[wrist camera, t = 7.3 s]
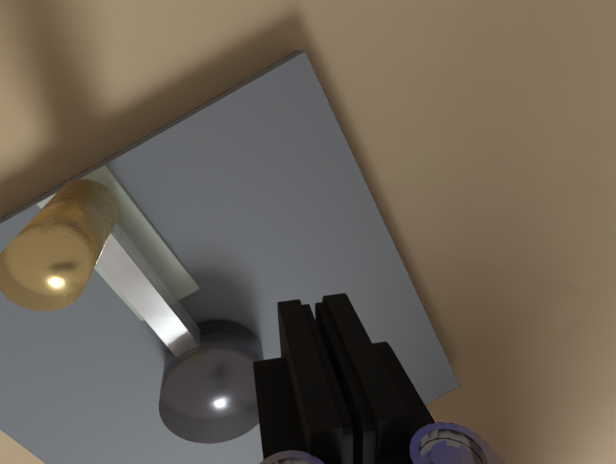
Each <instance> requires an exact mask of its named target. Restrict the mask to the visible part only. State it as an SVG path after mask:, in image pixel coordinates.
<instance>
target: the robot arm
mask: <svg viewBox="0 0 616 464" xmlns="http://www.w3.org/2000/svg"><path fill="white" fill-rule="evenodd" d="M277 310H278V324H279V337H280V350H281V357H280V358H273V359H266V360H260V361H253V371H254V380H255V390H256V399H257V408H258V417H259V426H260V435H261V444H262V452H263V461H262V462H261V463H260V464H505V463H504V462H503V461H502V459H501V458H500V457H499V456H498V455H497V454H496V453H495V452H494V450H493V449H492V448H491V447H490V446H489V445H488V444H487V443H486V442H485V441H484V440H483V439H482V438H481V437H480V436H479V435H478V434H476V433H474V432H473V431H471V430H469V429H467V428H466V427H463V426H460V425H456V424H453V423H443V422H439V423H435V421H434V420H433V418H432V416H431V415H430V413H429V411H428V409H427V408H426V406H425V404H424V403H423V401H422V399H421V397H420V396H419V394H418V392H417V390H416V389H415V387H414V385H413V384H412V382H411V380H410V378H409V377H408V375H407V373H406V372H405V370H404V368H403V366H402V365H401V363H400V361H399V360H398V358H397V356H396V354H395V353H394V351H393V349H392V348H391V346H390V345H389V343H388V342H386V341H384V342H378V343H372V342H371V340H370V338H369V336H368V334H367V332H366V330H365V328H364V326H363V325H362V323H361V321H360V319H359V317H358V315H357V313H356V311H355V309H354V307H353V306H352V304H351V302H350V300H349V298H348V296H347V295H346V293H341V294H334V295H326V296H323V298H322V302H319V303H315V318H314V315H313V312H312V310H311V307H310V304H304V305H302V303H301V301H300V299H296V300H289V301H281V302H277Z"/></svg>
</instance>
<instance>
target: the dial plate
mask: <svg viewBox="0 0 616 464" xmlns="http://www.w3.org/2000/svg"><path fill="white" fill-rule="evenodd" d="M80 179H86V180H93V181H96V182H99V183H101V184H103V185H105V186H106V187H107V188H109V189H110V190H111V191H112V192H113V194H114V195H115V197H116V198H117V200H118V203H119V210H120V212H119V217H118V220H117V223H118V224H119V225H120V226H121V228H122V229H123V230H124V232H125V233H126V234H127V236H128V237H129V238H130V239H131V241H132V242H133V243H134V245H135V246H136V247H137V248H138V250H139V251H140V252H141V254H142V255H143V256H144V258H145V259H146V260H147V261H148V263H149V264H150V265H151V267H152V268H153V269H154V270H155V272H156V273H157V274H158V276H159V277H160V278H161V280H162V281H163V282H164V283H165V285H166V286H167V287H168V289H169V290H170V291H171V292H172V294H173V295H174V296H175V298H176V299H177V300H178V302H179V303H180V304H181V305H182V307H183V308H184V309H185V311H186V312H187V313H188V314H189V316H190V317H191V318H192V320H193V321H194V322H195V324H197V323H200V322H204V321H210V320H226V321H231V322H235V323H238V324H241V325H243V326H245V327H246V328H248V329H249V330H251V331H252V332H253V333H254V334H255V335H256V336H257V338H258V339H259V341H260V343H261V346H262V349H263V355H264V360H266V359H273V358H280V357H281V350H280V337H279V324H278V310H277V302H281V301H289V300H296V299H300V301H301V303H302V305H304V304H310V307H311V310H312V312H313V315H314V318H315V303H319V302H322V298H323V296H326V295H334V294H341V293H346V295H347V296H348V298H349V300H350V302H351V304H352V306H353V307H354V309H355V311H356V313H357V315H358V317H359V319H360V321H361V323H362V325H363V326H364V328H365V330H366V332H367V334H368V336H369V338H370V340H371V342H372V343H378V342H384V341H386V342H388V343H389V345H390V346H391V348H392V349H393V351H394V353H395V354H396V356H397V358H398V360H399V361H400V363H401V365H402V366H403V368H404V370H405V372H406V373H407V375H408V377H409V378H410V380H411V382H412V384H413V385H414V387H415V389H416V390H417V392H418V394H419V396H420V397H421V399H422V401H423V403H424V404H425V405H426V404H428V403H430V402H432V401H434V400H435V399H437V398H439V397H441V396H443V395H445V394H447V393H448V392H450V391H452V390H454V389H456V388H458V387H460V385H459V383H458V380H457V378H456V376H455V374H454V372H453V370H452V367H451V365H450V363H449V361H448V359H447V357H446V354H445V352H444V350H443V348H442V346H441V344H440V342H439V339H438V337H437V335H436V333H435V331H434V329H433V326H432V324H431V322H430V320H429V318H428V316H427V313H426V311H425V309H424V307H423V305H422V303H421V301H420V298H419V296H418V294H417V292H416V290H415V288H414V285H413V283H412V281H411V279H410V277H409V275H408V272H407V270H406V268H405V266H404V264H403V262H402V260H401V257H400V255H399V253H398V251H397V249H396V247H395V244H394V242H393V240H392V238H391V236H390V234H389V231H388V229H387V227H386V225H385V223H384V221H383V218H382V216H381V214H380V212H379V210H378V208H377V206H376V203H375V201H374V199H373V197H372V195H371V193H370V190H369V188H368V186H367V184H366V182H365V180H364V177H363V175H362V173H361V171H360V169H359V167H358V165H357V162H356V160H355V158H354V156H353V154H352V152H351V149H350V147H349V145H348V143H347V141H346V139H345V136H344V134H343V132H342V130H341V128H340V126H339V124H338V121H337V119H336V117H335V115H334V113H333V111H332V108H331V106H330V104H329V102H328V100H327V98H326V95H325V93H324V91H323V89H322V87H321V85H320V83H319V80H318V78H317V76H316V74H315V72H314V70H313V67H312V65H311V63H310V61H309V59H308V57H307V54H306V52H305V51H300V50H298V51H296V52H294V53H293V54H291V55H289V56H287V57H286V58H284V59H282V60H280V61H278V62H277V63H275V64H273V65H271V66H270V67H268V68H266V69H264V70H263V71H261V72H259V73H257V74H255V75H254V76H252V77H250V78H248V79H247V80H245V81H243V82H241V83H240V84H238V85H236V86H234V87H232V88H231V89H229V90H227V91H225V92H224V93H222V94H220V95H218V96H217V97H215V98H213V99H211V100H209V101H208V102H206V103H204V104H202V105H201V106H199V107H197V108H195V109H194V110H192V111H190V112H188V113H186V114H185V115H183V116H181V117H179V118H178V119H176V120H174V121H172V122H171V123H169V124H167V125H165V126H163V127H162V128H160V129H158V130H156V131H155V132H153V133H151V134H149V135H148V136H146V137H144V138H142V139H140V140H139V141H137V142H135V143H133V144H132V145H130V146H128V147H126V148H125V149H123V150H121V151H119V152H117V153H116V154H114V155H112V156H110V157H109V158H107V159H105V160H103V161H102V162H100V163H98V164H96V165H94V166H93V167H91V168H89V169H87V170H86V171H84V172H82V173H80V174H79V175H77V176H75V177H73V178H71V179H70V180H68V181H66V182H64V183H63V184H61V185H59V186H57V187H56V188H54V189H52V190H50V191H48V192H47V193H45V194H43V195H41V196H40V197H38V198H36V199H34V200H33V201H31V202H29V203H27V204H25V205H24V206H22V207H20V208H18V209H17V210H15V211H13V212H11V213H10V214H8V215H6V216H4V217H2V218H1V219H0V253H1V252H2V251H3V250H4V249H5V248H6V246H7V245H8V244H9V243H10V242H11V241H12V240H13V239H14V238H15V237H16V236H17V235H18V234H19V233H20V232H21V231H22V229H23V228H24V227H25V226H26V225H27V224H28V223H29V222H30V221H31V220H32V219H33V218H34V217H35V216H36V215H37V213H38V212H39V211H40V210H41V209H42V208H43V207H44V206H45V205H46V204H47V203H48V202H49V201H50V200H51V199H52V197H53V196H54V195H55V194H56V193H57V192H58V191H59V190H60V189H61V188H62V187H63V186H64V185H66V184H67V183H69V182H71V181H75V180H80ZM167 349H168V347H167V346H166V344H165V343H164V342H163V341H162V340H161V338H160V337H159V336H158V335H157V334H156V333H155V331H154V330H153V329H152V328H151V327H150V325H149V324H148V323H147V322H146V321H145V319H144V318H143V317H142V316H141V315H140V314H139V312H138V311H137V310H136V309H135V308H134V306H133V305H132V304H131V303H130V302H129V300H128V299H127V298H126V297H125V296H124V295H123V293H122V292H121V291H120V290H119V289H118V287H117V286H116V285H115V284H114V283H113V281H112V280H111V279H110V278H109V277H108V276H107V274H106V273H105V272H104V271H103V270H102V268H101V267H100V266H99V265H98V264H97V263H96V265H95V267H94V269H93V271H92V274H91V276H90V278H89V280H88V282H87V284H86V286H85V288H84V290H83V292H82V294H81V295H80V297H79V298H78V299H77V300H76V301H75V302H73V303H72V304H70V305H69V306H67V307H65V308H62V309H59V310H54V311H35V310H30V309H27V308H24V307H21V306H19V305H17V304H15V303H13V302H12V301H11V300H9V299H8V298H7V297H6V296H5V295H4V294H3V293H2V292H1V291H0V429H1V430H2V431H3V432H5V433H6V434H7V435H8V436H10V437H11V438H12V439H14V440H15V441H16V442H18V443H19V444H20V445H22V446H23V447H24V448H26V449H27V450H28V451H30V452H31V453H32V454H34V455H35V456H36V457H37V458H39V459H40V460H41V461H43V462H44V463H45V464H260V463H261V462H262V461H263V452H262V444H261V435H260V426H259V424H258V425H256V426H255V427H254V428H253V429H252V430H250V431H249V432H247V433H246V434H244V435H242V436H240V437H238V438H235V439H233V440H230V441H226V442H221V443H212V444H203V443H195V442H191V441H187V440H185V439H182V438H180V437H178V436H176V435H175V434H173V433H172V432H171V431H170V430H169V429H168V428H167V427H166V426H165V425H164V423H163V421H162V420H161V417H160V414H159V398H160V390H161V383H162V375H163V368H164V360H165V355H166V351H167Z"/></svg>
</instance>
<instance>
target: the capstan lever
mask: <svg viewBox="0 0 616 464" xmlns="http://www.w3.org/2000/svg"><path fill="white" fill-rule="evenodd" d="M119 212H120V210H119V203H118V200H117V198H116V197H115V195H114V194H113V192H112V191H111V190H110V189H109V188H107V187H106V186H105V185H103V184H101V183H99V182H96V181H93V180H86V179H80V180H75V181H71V182H69V183H67V184H66V185H64V186H63V187H62V188H61V189H60V190H59V191H58V192H57V193H56V194H55V195H54V196H53V197H52V199H51V200H50V201H49V202H48V203H47V204H46V205H45V206H44V207H43V208H42V209H41V210H40V211H39V212H38V213H37V215H36V216H35V217H34V218H33V219H32V220H31V221H30V222H29V223H28V224H27V225H26V226H25V227H24V228H23V229H22V231H21V232H20V233H19V234H18V235H17V236H16V237H15V238H14V239H13V240H12V241H11V242H10V243H9V244H8V245H7V246H6V248H5V249H4V250H3V251H2V252H1V253H0V291H1V292H2V293H3V294H4V295H5V296H6V297H7V298H8V299H9V300H11V301H12V302H13V303H15V304H17V305H19V306H21V307H24V308H27V309H30V310H35V311H54V310H59V309H62V308H65V307H67V306H69V305H70V304H72V303H73V302H75V301H76V300H77V299H78V298H79V297H80V295H81V294H82V292H83V290H84V288H85V286H86V284H87V282H88V280H89V278H90V276H91V274H92V271H93V269H94V267H95V265H96V263H97V264H98V265H99V266H100V267H101V268H102V270H103V271H104V272H105V273H106V274H107V276H108V277H109V278H110V279H111V280H112V281H113V283H114V284H115V285H116V286H117V287H118V289H119V290H120V291H121V292H122V293H123V295H124V296H125V297H126V298H127V299H128V300H129V302H130V303H131V304H132V305H133V306H134V308H135V309H136V310H137V311H138V312H139V314H140V315H141V316H142V317H143V318H144V319H145V321H146V322H147V323H148V324H149V325H150V327H151V328H152V329H153V330H154V331H155V333H156V334H157V335H158V336H159V337H160V338H161V340H162V341H163V342H164V343H165V344H166V346H167V347H168V349H167V351H166V355H165V360H164V368H163V375H162V383H161V390H160V398H159V414H160V417H161V420H162V421H163V423H164V425H165V426H166V427H167V428H168V429H169V430H170V431H171V432H172V433H173V434H175V435H176V436H178V437H180V438H182V439H185V440H187V441H191V442H195V443H203V444H212V443H221V442H226V441H230V440H233V439H235V438H238V437H240V436H242V435H244V434H246V433H247V432H249V431H250V430H252V429H253V428H254V427H255V426H256V425H258V424H259V417H258V408H257V399H256V390H255V380H254V371H253V361H260V360H264V355H263V349H262V346H261V343H260V341H259V339H258V338H257V336H256V335H255V334H254V333H253V332H252V331H251V330H249V329H248V328H246V327H245V326H243V325H241V324H238V323H235V322H231V321H226V320H210V321H204V322H200V323H197V324H195V322H194V321H193V320H192V318H191V317H190V316H189V314H188V313H187V312H186V311H185V309H184V308H183V307H182V305H181V304H180V303H179V302H178V300H177V299H176V298H175V296H174V295H173V294H172V292H171V291H170V290H169V289H168V287H167V286H166V285H165V283H164V282H163V281H162V280H161V278H160V277H159V276H158V274H157V273H156V272H155V270H154V269H153V268H152V267H151V265H150V264H149V263H148V261H147V260H146V259H145V258H144V256H143V255H142V254H141V252H140V251H139V250H138V248H137V247H136V246H135V245H134V243H133V242H132V241H131V239H130V238H129V237H128V236H127V234H126V233H125V232H124V230H123V229H122V228H121V226H120V225H119V224H118V223H117V220H118V217H119Z"/></svg>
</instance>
